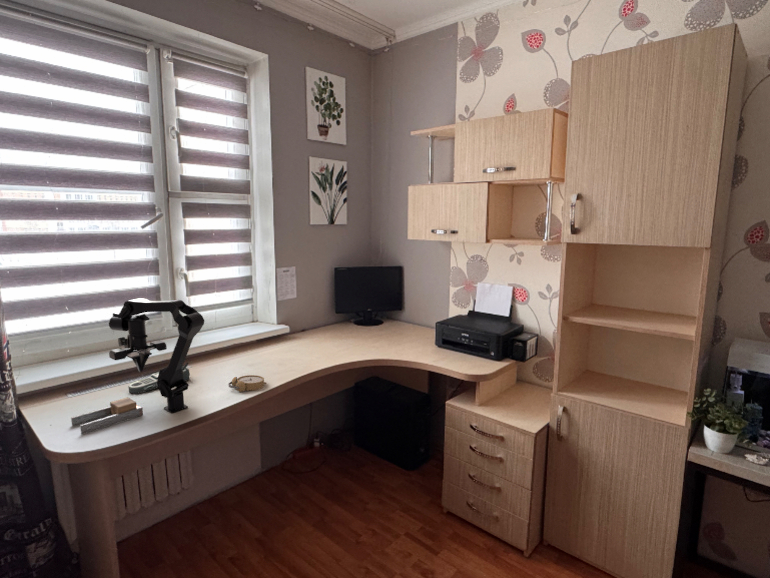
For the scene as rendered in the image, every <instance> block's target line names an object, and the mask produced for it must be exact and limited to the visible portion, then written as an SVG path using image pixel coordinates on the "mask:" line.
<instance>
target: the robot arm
mask: <svg viewBox="0 0 770 578" xmlns="http://www.w3.org/2000/svg"><path fill="white" fill-rule="evenodd" d="M165 312H166V313H167V312H169V313H170V314H171V316H172V318H173V321H174V322H175V324H177V331H178V338H177V341H176V343H175V346H174V348H173V351H172V353H171V358H170V360H169V363H168V365H167V366H166V367H163V368H161V369H159V371H158V372H159V375H158V377H157V378H156V379H158V380H157V385H158V388H157V389H158V390H159V392H160V395H161V397H164V398H166V404H167V405H166V406H163V410H165V411H167V412H168V413H170V414H173V413H176V412H180V411H182V410H185V409H189V406H188V405H186V404H185V399H184V392H185V391H187V390H188V389H189V386H190V385H189V383H188V382H187V381H185V380H184V379H183V372H182V367H184V365H185V362H186V358H187V355H188V353H189V351H190V348H191V345H192V342H193V339H194V337H195V336H196V335H197V334H198V333H199V332H200V331H201V329H202V328H203V326H204V324H205V319H204V317H203V314H201V313H199V312H198V310H196V309H195V308H194V307H192V306H190V305H188V304H187V303H185V302H184V301H183V300H181V299H176V300H175V299H174V300H149V299H148V298H141V297H139V298H134V299H130V300H126V301H124V303H123V306H122V308H121V310H120V312H119V311H118V312H114V313H112V316H111V318H110V319H109V322H108V327H109V329H111V330H112V331H121V332H128V333H127V338H126V337H125V336H122V337H119V338H117V343H118V346H119V347H124V349H123V348H115V349H111V350H109V353H108V355H109V356H108V357H109V358H110V359H112V360H114V361H119V360H125V359H126V358H130V359H131V360H132V361H133V362H134V365H135V367H136V368H137V371H138V373H142V372H143V370H144V368H145V366H146V363H147V361H148V359H149V357H150V356H152V354H153V353H152V352H151V350H157V351H158V352H161V351H165V350H167V343H166V342H165V341H162V340H160V339H159V340H155V341H150V343H149V344H147V342H148V341H147V338H148V334H147V332H146V321H149V320H150V317H148V316H147V315H146V314H145V313H165ZM182 314H184V315H182Z"/></svg>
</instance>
